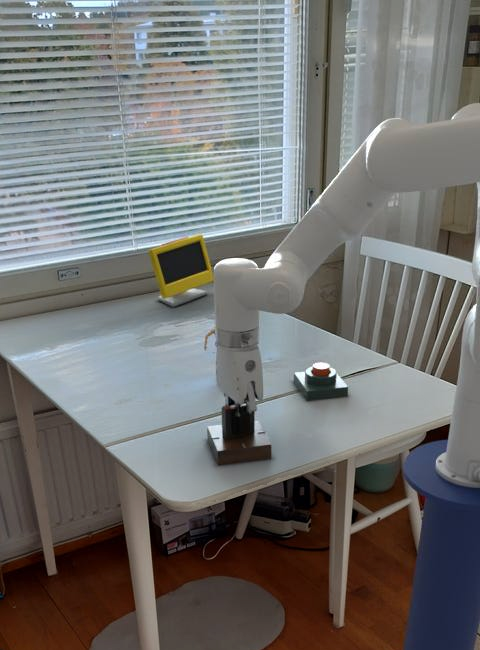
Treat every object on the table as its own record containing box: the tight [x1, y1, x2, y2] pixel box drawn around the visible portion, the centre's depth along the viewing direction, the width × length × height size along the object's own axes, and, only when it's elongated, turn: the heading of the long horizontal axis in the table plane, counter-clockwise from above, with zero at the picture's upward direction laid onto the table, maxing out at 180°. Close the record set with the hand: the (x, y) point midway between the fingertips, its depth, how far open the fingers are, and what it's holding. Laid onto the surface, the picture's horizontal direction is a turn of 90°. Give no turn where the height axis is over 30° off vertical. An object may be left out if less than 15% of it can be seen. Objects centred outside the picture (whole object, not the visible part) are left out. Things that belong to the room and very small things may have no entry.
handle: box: [221, 403, 256, 440], centre depth 143 cm, size 6×2×6 cm, turn 118°
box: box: [293, 365, 349, 402], centre depth 167 cm, size 10×9×4 cm
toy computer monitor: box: [148, 233, 214, 308], centre depth 215 cm, size 20×8×16 cm, turn 140°
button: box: [312, 362, 331, 376], centre depth 166 cm, size 4×4×2 cm
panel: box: [206, 420, 272, 466], centre depth 146 cm, size 10×10×3 cm
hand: (238, 430), depth 145 cm, fingers closed on handle
